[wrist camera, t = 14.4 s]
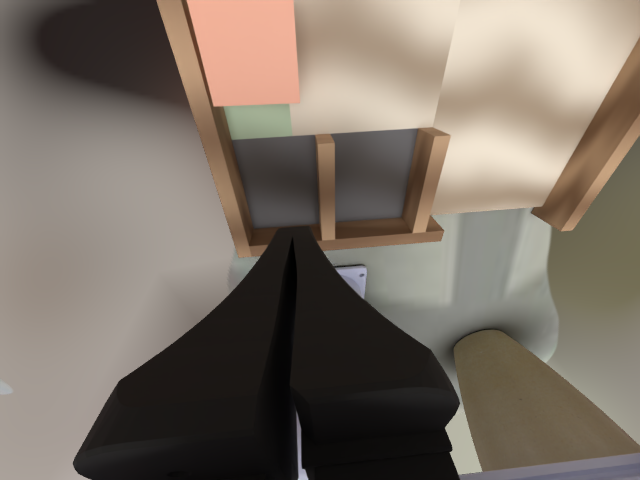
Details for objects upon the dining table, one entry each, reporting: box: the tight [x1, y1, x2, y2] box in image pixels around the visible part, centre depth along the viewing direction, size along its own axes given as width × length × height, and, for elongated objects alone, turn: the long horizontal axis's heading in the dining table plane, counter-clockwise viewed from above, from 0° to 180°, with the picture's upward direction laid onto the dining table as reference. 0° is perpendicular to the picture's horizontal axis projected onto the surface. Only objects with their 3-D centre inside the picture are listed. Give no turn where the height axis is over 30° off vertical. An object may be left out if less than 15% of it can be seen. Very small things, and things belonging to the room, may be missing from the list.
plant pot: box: [454, 330, 640, 472], centre depth 29 cm, size 15×15×16 cm
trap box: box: [157, 0, 640, 258], centre depth 15 cm, size 17×27×3 cm, turn 92°
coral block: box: [187, 0, 300, 107], centre depth 12 cm, size 4×4×4 cm
